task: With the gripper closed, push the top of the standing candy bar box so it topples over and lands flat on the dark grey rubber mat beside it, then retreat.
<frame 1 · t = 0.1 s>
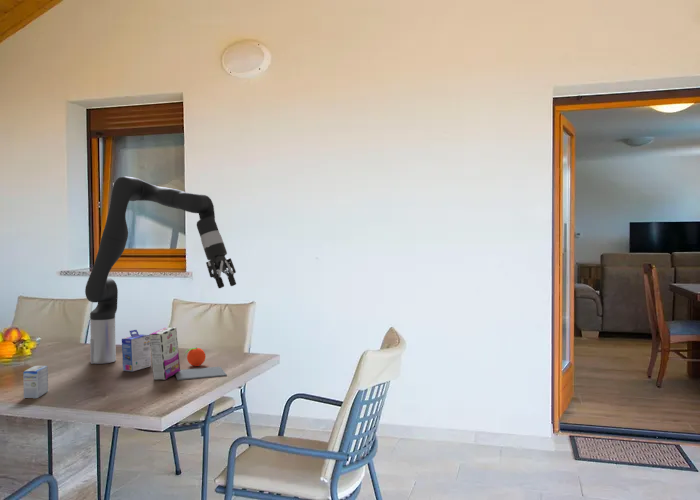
hand: (227, 286, 223), 31 cm above the table, tool tilted 20°, fingers open, 8 cm apart
clementine: (195, 366, 234), on the table
candy bar box: (166, 376, 217), on the table, touching mat
mat: (199, 373, 221), on the table
medicine box: (36, 396, 193), on the table
ink cartridge box: (136, 369, 230), on the table
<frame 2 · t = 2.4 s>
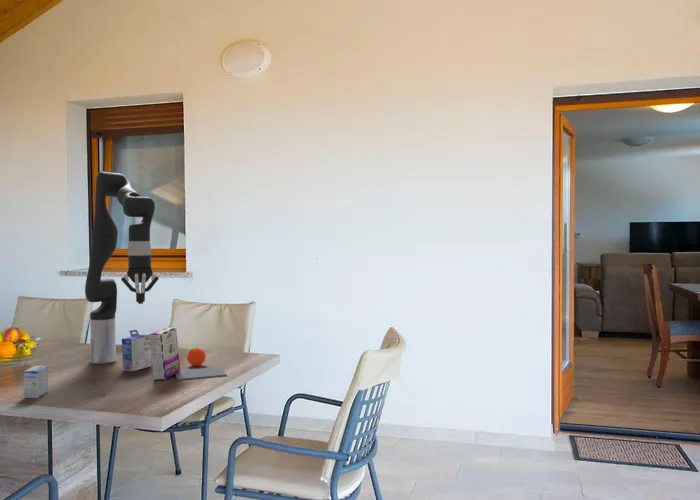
hand: (140, 303, 213), 27 cm above the table, tool pointing down, fingers closed
nothing on the table moved.
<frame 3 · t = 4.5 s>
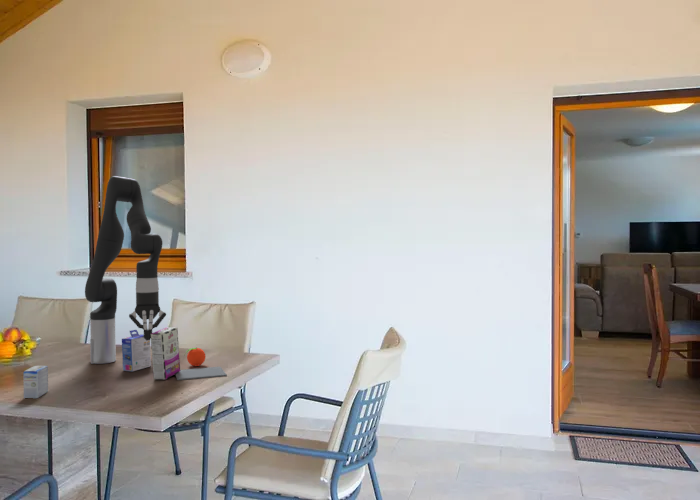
hand: (148, 339, 214), 14 cm above the table, tool pointing down, fingers closed
candy bar box: (166, 376, 217), on the table, touching gripper, mat
everything else where it was.
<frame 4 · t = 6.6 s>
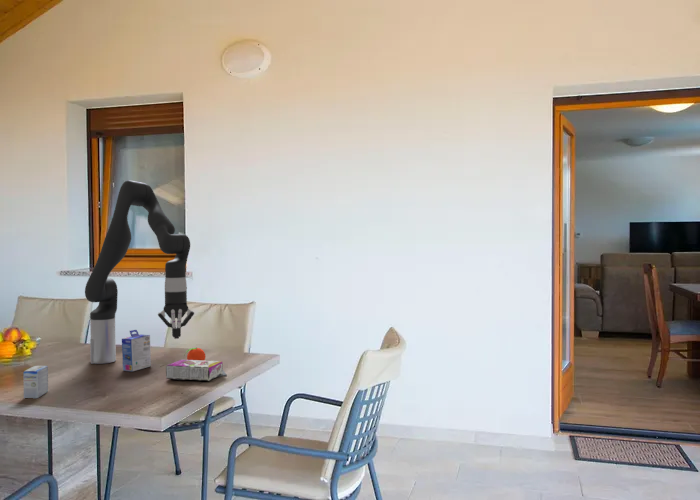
hand: (176, 338, 218), 14 cm above the table, tool pointing down, fingers closed
candy bar box: (172, 368, 216), point 3 cm above the table, touching mat
everything else where it was.
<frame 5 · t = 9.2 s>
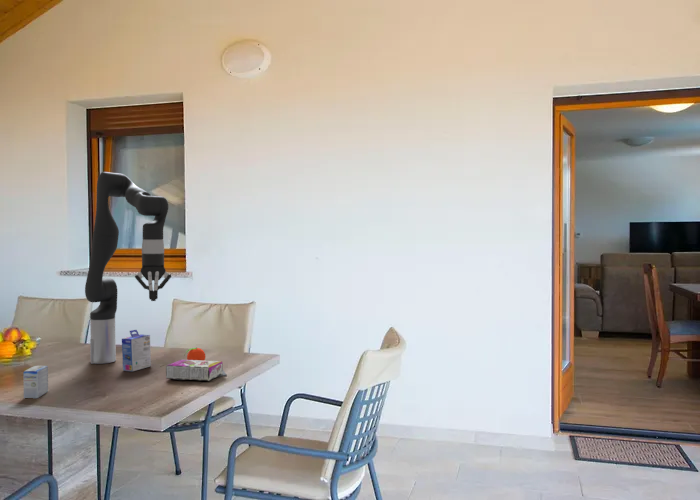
hand: (153, 300, 217), 27 cm above the table, tool pointing down, fingers closed
nothing on the table moved.
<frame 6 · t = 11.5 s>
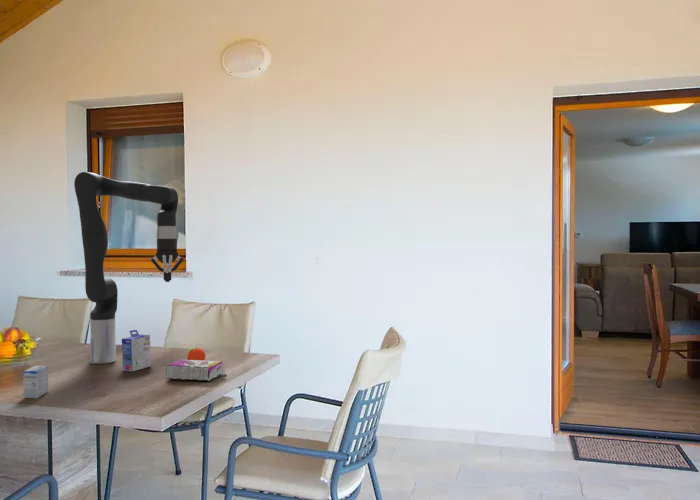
hand: (167, 281, 239), 32 cm above the table, tool pointing down, fingers closed
nothing on the table moved.
at the end: candy bar box tilted 91°; candy bar box 9.5 cm from the mat (horizontally) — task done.
